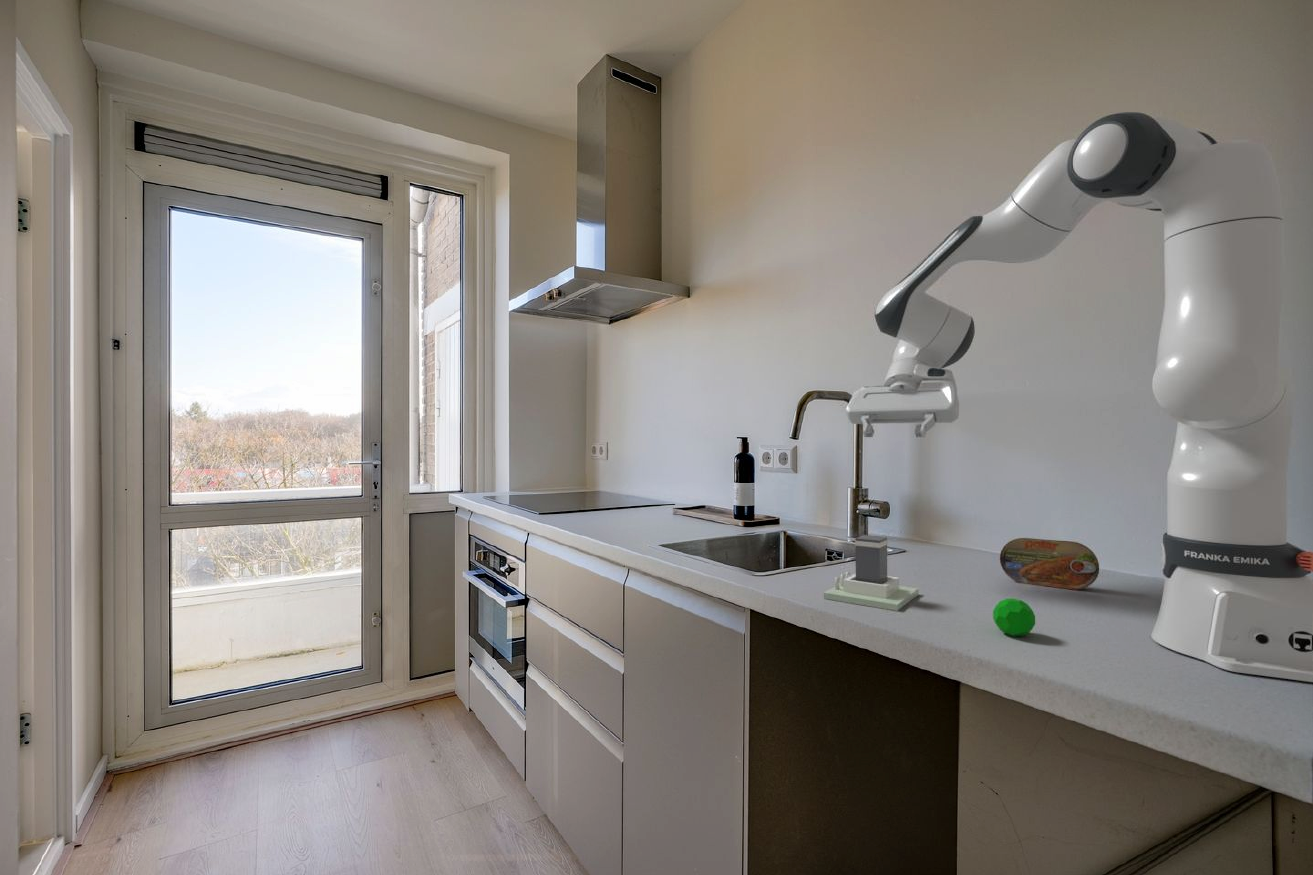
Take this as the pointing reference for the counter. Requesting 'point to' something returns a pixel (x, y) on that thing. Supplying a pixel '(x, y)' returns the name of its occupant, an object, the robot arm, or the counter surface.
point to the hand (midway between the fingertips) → (892, 435)
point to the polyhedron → (1014, 617)
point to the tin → (1049, 563)
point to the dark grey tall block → (871, 559)
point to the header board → (871, 592)
